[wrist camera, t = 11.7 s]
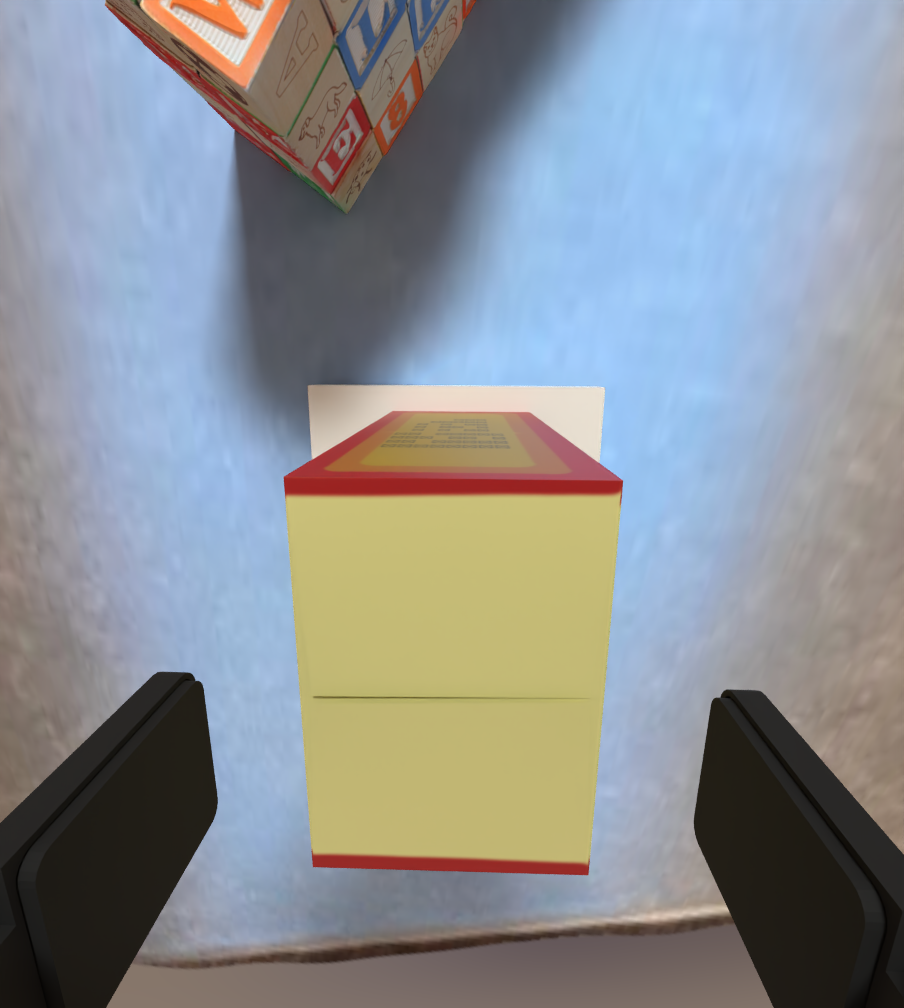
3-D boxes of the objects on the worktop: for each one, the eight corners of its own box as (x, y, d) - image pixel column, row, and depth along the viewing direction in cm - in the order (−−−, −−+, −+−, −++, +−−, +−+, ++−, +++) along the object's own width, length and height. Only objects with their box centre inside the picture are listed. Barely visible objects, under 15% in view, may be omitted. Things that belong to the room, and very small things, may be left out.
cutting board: (597, 386, 26) (605, 387, 25) (581, 609, 29) (587, 622, 28) (316, 384, 27) (307, 385, 25) (328, 604, 30) (321, 616, 28)
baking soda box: (392, 410, 25) (276, 480, 10) (529, 412, 25) (628, 484, 10) (396, 594, 28) (308, 881, 12) (521, 596, 28) (591, 890, 12)
